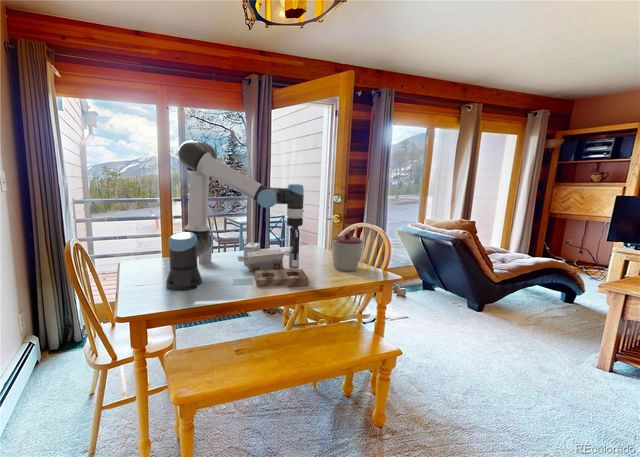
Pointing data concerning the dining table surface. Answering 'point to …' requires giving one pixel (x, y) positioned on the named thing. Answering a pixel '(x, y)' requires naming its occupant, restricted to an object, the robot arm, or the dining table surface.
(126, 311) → the dining table surface
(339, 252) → the canister
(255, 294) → the dining table surface
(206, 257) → the coffee cup
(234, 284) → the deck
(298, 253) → the plug
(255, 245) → the light bulb box
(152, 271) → the dining table surface
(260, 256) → the electrical outlet
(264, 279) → the socket board
